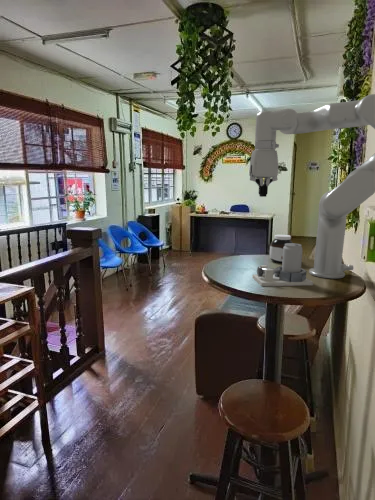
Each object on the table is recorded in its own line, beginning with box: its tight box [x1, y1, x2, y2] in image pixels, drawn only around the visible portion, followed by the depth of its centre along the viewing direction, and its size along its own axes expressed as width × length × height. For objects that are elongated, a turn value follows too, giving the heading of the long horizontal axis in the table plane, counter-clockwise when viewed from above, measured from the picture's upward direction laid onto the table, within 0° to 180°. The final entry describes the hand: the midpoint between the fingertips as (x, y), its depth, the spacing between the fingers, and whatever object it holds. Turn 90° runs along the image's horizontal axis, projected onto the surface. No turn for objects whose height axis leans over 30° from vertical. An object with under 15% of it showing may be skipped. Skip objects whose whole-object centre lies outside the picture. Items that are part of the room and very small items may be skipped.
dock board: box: [252, 264, 314, 287], centre depth 120 cm, size 18×10×5 cm, turn 97°
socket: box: [275, 265, 308, 282], centre depth 120 cm, size 10×10×3 cm
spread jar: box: [269, 234, 293, 265], centre depth 151 cm, size 12×11×12 cm
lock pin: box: [256, 266, 281, 277], centre depth 119 cm, size 8×4×4 cm, turn 97°
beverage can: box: [281, 242, 303, 273], centre depth 119 cm, size 6×6×12 cm
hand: (262, 196), depth 132 cm, fingers closed
